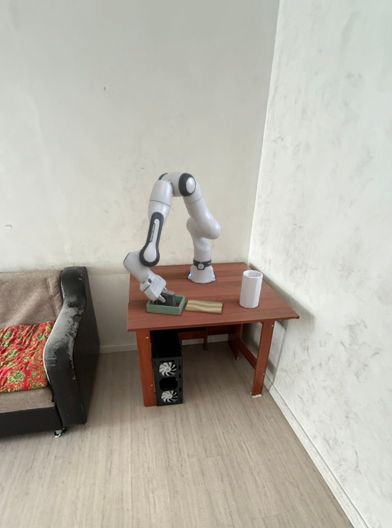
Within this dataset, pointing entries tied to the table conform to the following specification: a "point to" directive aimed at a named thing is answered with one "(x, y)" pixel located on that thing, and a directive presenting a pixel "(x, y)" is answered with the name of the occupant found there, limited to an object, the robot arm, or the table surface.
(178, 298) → the bin
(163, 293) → the camera
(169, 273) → the table surface
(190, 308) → the board
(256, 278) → the cup
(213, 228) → the robot arm
